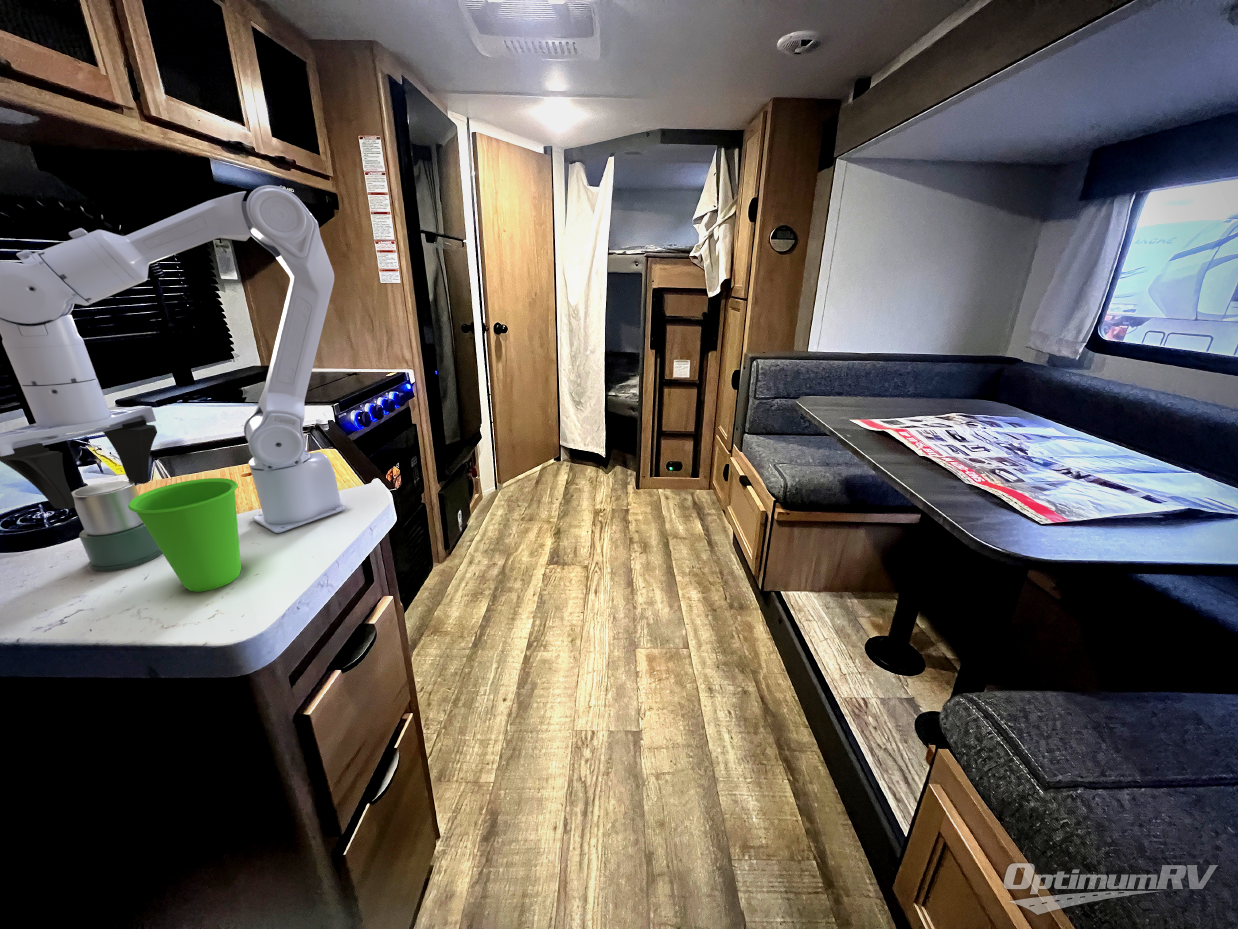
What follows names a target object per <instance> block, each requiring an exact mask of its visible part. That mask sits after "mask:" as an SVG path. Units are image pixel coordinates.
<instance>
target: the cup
mask: <svg viewBox="0 0 1238 929" xmlns="http://www.w3.org/2000/svg"><path fill="white" fill-rule="evenodd" d="M238 485H239V484H238V483H237V482H236V481H235V480H233V479H230V478H223V477H208V478H198V479H192V480H185V481H181V482H176V483H171V484H167V485H164V486H160V487H157V488H154V489H151V490H148V491H146V492H143V493H141V494H139V496H137V497H135V498H134V499H133V500H131V501H130V503H129V506H128V508H129V510H131V511H134V512H136V513H137V514H138V516H139V517H140V519H141V520H142V522H143V523H144V525H145V527H146V528H147V530H148V531H149V533H150V534H151V536H152V537H153V539H154V541H155V542H156V544H157V545H158V547H159V548H160V550H161V551H162V555H163V556H164V558H165V559H166V561H167V563H168V564H169V565H170V567H171V569H172V570H173V572H174V574H175V575H176V576H177V579H179V581H180V583H181V584H182V586H183V587H184V588H186V589H187V590H188V591H190V592H195V593H196V592H199V593H200V592H207V591H211V590H216V589H219V588H221V587H223V586H226V585H229V584H230V583H232V582H234V581H236V580H237V578H238V577H240V575H241V571H242V563H241V550H240V549H241V548H240V540H239V526H238V514H237V503H236V502H237V501H236V492H235V491H236V490H237V489H238Z"/></svg>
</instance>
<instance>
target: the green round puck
mask: <svg viewBox="0 0 1238 929" xmlns="http://www.w3.org/2000/svg"><path fill="white" fill-rule="evenodd" d="M78 537H79V539H80V542H81V543H82V545H83V548H84V550H85V553H86V555H87V558H88V560H89V561H88V566H89V568H90V570H92V571H93V572H98V573H99V572H101V573H106V572H116V571H121V570H126V569H129V568H133V567H136V566H140V565H143V564H145V563H147V562H150V561H153V560H154V559H156V558H158V557H160V556H161V555H163V553H162V551H161V550H160V548H159V547H158V545H157V544H156V542H155V541H154V539H153V537H152V536H151V534H150V533H149V531H148V530H147V528H146V527H145V525H144V523H143V524H141V525H139V526H136V527H134V528H131V529H128V530H125V531H122V532H118V533H113V534H108V535H98V536H93V535H88V534H86V532H85V530H84V529H83V530H82V531H81V532H79V535H78Z"/></svg>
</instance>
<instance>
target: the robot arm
mask: <svg viewBox="0 0 1238 929" xmlns="http://www.w3.org/2000/svg"><path fill="white" fill-rule="evenodd" d="M246 193H247V191H245V190H244V191H239V192H234V193H229V194H227V195H223V196H220V197H216V198H213V199H210V200H207V201H205V202H202V203H200V204H197V205H195V206H192V207H190V208H188V209H186V210H183V211H181V212H178V213H176V214H174V215H171V216H169V217H167V218H164V219H162V220H159V221H157V222H155V223H153V224H150V225H148V226H146V227H143V228H141V229H138V230H136V231H133V232H131V233H129V234H126V235H121V234H117V233H113V232H110V231H107V230H103V229H96V230H94V231H91V232H88V231H86V230H85V229H84V228H82V227H79V228H77V229H74V230H72V231H69V232H68V235H69V236H70V237H71V238H72V239H69V240H66V241H64V242H61V243H59V244H55V245H53V246H50V247H47V248H45V249H42V250H39V251H37V252H34V253H33V252H32V251H31V250H29V249H25V250H22V251H19V252H17V253H16V255H15V256H16V257H18V258H19V259H20V261H21V263H20V262H16V261H15V262H14V261H4V260H3V261H0V336H1V338H2V340H1V342H2V345H3V348H4V350H5V352H6V355H7V357H8V359H9V361H10V365H11V366H12V369H13V371H14V374H15V376H16V378H17V380H18V383H19V385H20V387H21V388H20V389H21V390H22V392H23V395H24V397H25V399H26V402H27V404H28V406H29V409H30V411H31V413H32V416H33V418H34V420H35V423H33V424H29V425H24V426H20V427H17V428H13V429H8V430H6V431H1V432H0V463H3V464H4V465H6V466H7V467H9V468H11V469H12V470H14V471H15V472H16V473H18V474H19V475H20V476H22V477H23V478H24V479H26V480H27V481H28V482H29V483H30V484H32V485H33V486H34V488H36V489H37V490H38V491H39V492H40V493H41V495H43V496H44V498H46V500H47V501H48V502H49V503H50V504H51V506H52V507H53V508H54V509H60V510H70V509H74V508H75V502H74V498H73V496H72V491H71V489H70V487H69V484H68V482H67V478H66V473H65V469H64V462H63V452H61V451H57V450H50V449H49V447H45V446H46V445H51V444H56V443H61V442H65V441H69V440H74V439H78V438H83V437H86V436H87V437H88V436H91V435H95V434H100V433H103V434H104V435H105V437H106V438H107V440H108V441H109V442H110V444H111V446H112V447H113V449H114V450H115V453H116V454H117V456H118V457H119V460H120V463H121V465H122V468H123V471H124V474H125V476H126V477H127V480H131V481H133V482H134V483H135V484H140V485H144V484H147V483H150V474H149V472H150V471H149V470H150V457H151V451H152V447H153V445H154V444H153V443H154V441H155V438H156V437H157V434H158V430H157V426H156V425H155V424H150V423H154V422H157V419H156V415H155V412H154V410H153V407H152V406H147V405H146V406H145V405H137V406H132V407H125V408H120V409H119V408H118V409H113V410H110V409H109V407H108V404H107V401H106V399H105V396H104V392H103V390H102V387H101V385H100V382H99V379H98V378H97V374H96V372H95V369H94V366H93V363H92V361H91V358H90V355H89V353H88V350H87V347H86V345H85V341H84V339H83V337H82V336H80V334H79V332H78V328H77V326H76V324H75V321H74V318H73V315H72V311H73V309H74V306H75V304H76V305H81V306H89V305H92V304H93V303H97V302H99V301H102V300H104V299H106V298H108V297H111V296H113V295H115V294H117V293H120V292H123V291H125V290H127V289H129V288H132V287H134V286H137V285H139V284H142V283H145V282H146V281H147V280H148V277H149V266H150V265H151V264H153V263H155V262H157V261H160V260H163V259H166V258H169V257H172V256H173V255H176V254H179V253H182V252H185V251H187V250H190V249H193V248H195V247H198V246H201V245H204V244H205V243H208V242H211V241H213V240H217V239H226V240H233V241H242V242H246V241H248V239H249V238H250V237H252V238H253V239H254V240H255V241H256V242H257V243H258V244H260V245H261V246H262V247H263V248H264V249H266V250H267V251H268V252H270V253H271V254H272V255H273V256H274V257H275V259H276V260H277V261H278V263H279V264H280V266H281V267H282V268H283V270H284V271H285V273H286V274H287V275H288V277H289V285H288V288H287V292H286V297H285V301H284V305H283V310H282V314H281V318H280V322H279V326H278V330H277V335H276V338H275V342H274V347H273V351H272V355H271V359H270V363H269V367H268V371H267V375H266V380H265V384H264V387H263V388H264V389H263V391H262V393H261V395H260V397H259V399H258V403H257V407H256V409H255V411H254V412H253V413H252V414H251V415H250V416H249V417H248V418H247V419H246V421H245V423H244V425H243V434H244V435H243V436H244V437H245V439H246V441H247V443H248V451H249V452H250V454H251V456H252V458H251V459H250V460H249V461H248V466H249V469H250V472H251V477H252V480H253V484H254V487H255V490H256V494H257V497H258V501H259V506H260V508H261V513H260V514H259V513H258V514H257V515H254V516H253V517H252V520H253V521H255V522H256V523H258V524H259V525H261V526H263V527H264V528H266V529H268V530H270V531H271V532H273V533H275V534H280V533H282V532H283V533H284V532H286V531H288V530H291V529H294V528H297V527H300V526H303V525H306V524H308V523H311V522H314V521H317V520H321V519H323V518H326V517H328V516H332V515H335V514H337V513H339V512H342V511H345V506H343V505H342V501H341V496H340V492H339V486H338V482H337V478H336V473H335V470H334V467H333V465H332V463H331V461H330V459H329V457H328V456H327V455H325V454H324V453H323V452H321V451H317V452H311V453H310V452H309V450H307V449H306V447H307V440H306V436H305V434H304V429H303V427H304V422H305V400H306V397H307V392H308V388H309V384H310V380H311V376H312V372H313V368H314V364H315V360H316V355H317V351H318V348H319V343H320V341H321V340H320V339H321V336H322V332H323V328H324V323H325V319H326V315H327V312H328V308H329V303H330V300H331V296H332V292H333V288H334V283H335V273H334V269H333V266H332V264H331V261H330V258H329V255H328V254H327V250H326V248H325V245H324V242H323V239H322V236H321V232H320V227H319V222H318V221H317V219H315V217H314V215H313V214H312V213H311V211H309V209H308V208H307V207H306V205H305V204H304V203H303V202H302V200H300V198H299V197H298V196H297V195H296V194H294V193H293V192H291V191H290V190H288V189H286V188H284V187H281V186H278V185H271V184H267V185H261V186H258V187H257V188H255V189H253V191H251V192H250V193H249V195H248V197H247V199H246V201H244V197H245V195H246Z"/></svg>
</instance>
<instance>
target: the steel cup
mask: <svg viewBox="0 0 1238 929" xmlns="http://www.w3.org/2000/svg"><path fill="white" fill-rule="evenodd" d="M71 493H72V496H73V498H74V502H75V507H74V508H75V510H76V513H77V515H78V518H79V520H80V522H81V525H82V527H83V530H85V532H86V534H88V535H93V536H98V535H108V534H113V533H118V532H122V531H125V530H128V529H131V528H134V527H136V526H139V525H141V524H143V522H142V520H141V519H140V517H139V516H138V514H137V513H136V512H134V511H131V510H129V508H128V506H129V503H130V501H131V500H133V499H134V498H135V497H137V496H139V495H140V494H139V491H138V488H137V485H136V483H134V482H133V481H131V480H129V479H117V480H115V479H114V480H109V481H108V480H107V481H102V482H97V483H93V484H89V485H86V486H83V487H79V488H78V489H75V490H73V491H71Z"/></svg>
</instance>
